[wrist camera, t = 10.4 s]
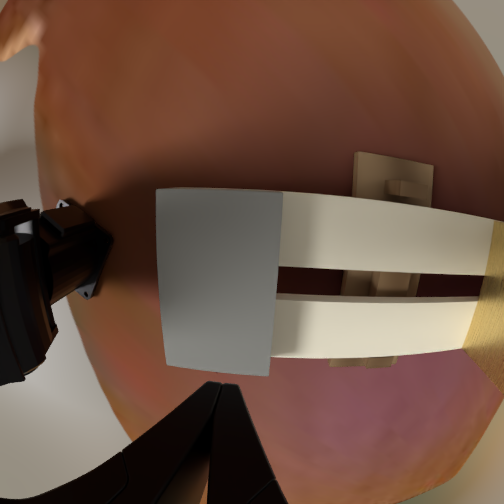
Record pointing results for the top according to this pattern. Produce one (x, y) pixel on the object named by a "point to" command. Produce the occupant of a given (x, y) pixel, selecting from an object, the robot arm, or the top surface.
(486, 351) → the block
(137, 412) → the top surface
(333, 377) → the top surface
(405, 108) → the top surface
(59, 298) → the robot arm
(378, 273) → the beam stand
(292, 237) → the white twin rails
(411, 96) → the top surface
